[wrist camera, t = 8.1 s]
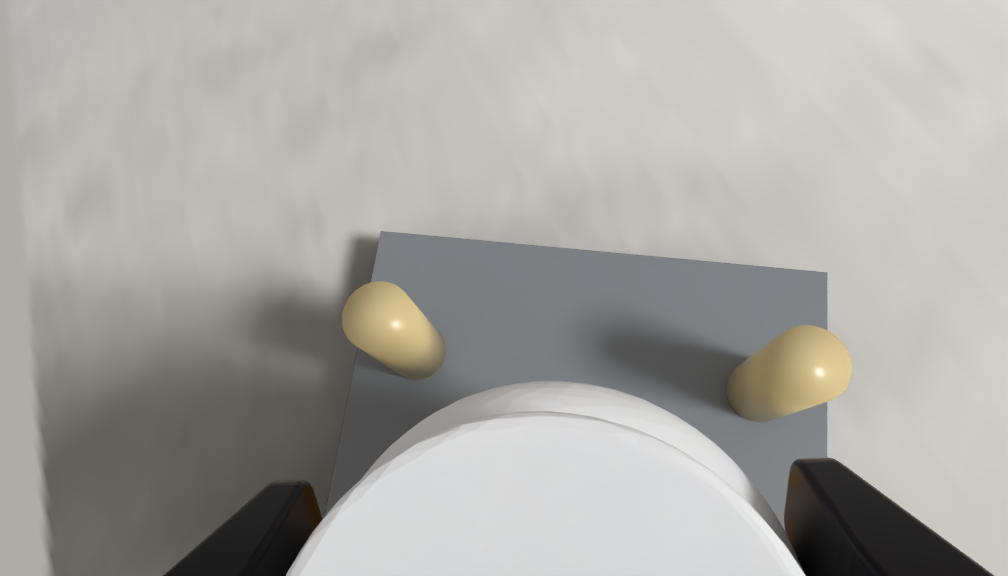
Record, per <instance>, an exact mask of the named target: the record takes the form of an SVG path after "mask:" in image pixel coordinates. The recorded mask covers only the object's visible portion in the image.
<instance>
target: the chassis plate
mask: <svg viewBox="0 0 1008 576" xmlns="http://www.w3.org/2000/svg"><path fill="white" fill-rule="evenodd" d="M342 326H343V330H344V332H345V335H346V336H347V338H348V339H349V340H350V342H352V343H353V344H354V345H355V346H357V347H358V349H357V354H356V359H355V364H354V369H353V375H352V380H351V385H350V390H349V395H348V400H347V405H346V410H345V415H344V420H343V425H342V430H341V435H340V440H339V445H338V450H337V455H336V460H335V465H334V471H333V476H332V481H331V486H330V491H329V496H328V501H327V506H326V511H325V516H326V515H327V513H328V512H329V511H330V510H331V508H332V507H333V506H334V505H335V504H336V503H337V502H338V501H339V500H340V499H341V498H342V497H343V496H344V495H345V494H346V493H347V492H348V491H349V490H350V489H351V488H352V487H353V486H354V485H355V484H356V483H357V482H358V481H360V480H361V479H362V478H363V476H364V475H365V474H366V472H367V471H368V470H369V469H370V468H371V466H372V465H373V464H374V463H375V461H376V460H377V459H378V458H379V457H380V456H381V455H382V454H383V453H384V452H385V451H386V450H387V449H388V448H389V447H390V446H391V445H392V444H393V443H394V442H396V441H397V440H398V439H399V438H400V437H401V436H403V435H404V434H405V433H406V432H408V431H409V430H410V429H412V428H413V427H414V426H415V425H417V424H418V423H419V422H421V421H422V420H424V419H425V418H427V417H428V416H430V415H432V414H433V413H435V412H437V411H439V410H441V409H443V408H445V407H446V406H448V405H450V404H452V403H454V402H456V401H458V400H460V399H462V398H465V397H467V396H470V395H473V394H477V393H480V392H483V391H486V390H489V389H493V388H496V387H501V386H506V385H511V384H517V383H526V382H535V381H564V382H574V383H585V384H591V385H596V386H601V387H605V388H610V389H615V390H618V391H621V392H624V393H627V394H630V395H632V396H635V397H638V398H641V399H643V400H646V401H648V402H650V403H652V404H654V405H656V406H658V407H660V408H662V409H664V410H666V411H668V412H670V413H672V414H674V415H676V416H677V417H679V418H680V419H682V420H683V421H685V422H686V423H688V424H690V425H691V426H693V427H694V428H696V429H697V430H698V431H700V432H701V433H702V434H703V435H705V436H706V437H707V438H709V439H710V440H711V441H712V442H714V443H715V444H716V445H717V446H718V447H719V448H720V449H721V450H723V451H724V452H725V453H726V454H727V455H728V456H729V457H730V458H731V459H732V460H733V461H734V462H735V463H736V464H737V465H738V467H739V468H740V469H741V470H742V471H743V472H744V473H745V474H746V475H747V477H748V478H749V479H750V480H751V482H752V483H753V484H754V486H755V487H756V488H757V489H758V491H759V492H760V493H761V494H762V496H763V497H764V499H765V500H766V502H767V503H768V504H769V506H770V507H771V509H772V510H773V512H774V513H775V515H776V516H777V518H778V520H779V522H780V523H781V525H782V527H783V528H784V530H785V527H784V509H785V501H786V494H787V486H788V479H789V471H790V467H791V465H792V463H793V462H794V461H795V460H797V459H803V458H827V402H828V401H830V400H833V399H835V398H836V397H838V396H839V395H840V394H841V393H842V392H843V391H844V390H845V389H846V388H847V386H848V384H849V382H850V379H851V375H852V362H851V358H850V355H849V352H848V350H847V348H846V347H845V345H844V344H843V343H842V342H841V340H840V339H839V338H838V337H836V336H835V335H834V334H832V333H831V332H829V331H827V272H816V271H805V270H794V269H784V268H773V267H762V266H751V265H740V264H730V263H719V262H708V261H697V260H686V259H676V258H665V257H654V256H643V255H633V254H622V253H611V252H600V251H589V250H579V249H568V248H557V247H546V246H535V245H525V244H514V243H503V242H492V241H481V240H471V239H460V238H449V237H438V236H427V235H417V234H406V233H395V232H384V231H381V233H380V238H379V243H378V248H377V253H376V258H375V263H374V268H373V274H372V279H371V283H368V284H365V285H363V286H361V287H360V288H358V289H357V290H355V291H354V292H353V293H352V294H351V295H350V297H349V298H348V300H347V301H346V303H345V306H344V308H343V312H342ZM325 516H324V517H325Z"/></svg>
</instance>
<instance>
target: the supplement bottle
mask: <svg viewBox="0 0 1008 576" xmlns="http://www.w3.org/2000/svg"><path fill="white" fill-rule="evenodd" d="M286 576H805V574H804V571H803V569H802V567H801V564H800V562H799V560H798V557H797V555H796V553H795V550H794V548H793V546H792V544H791V542H790V540H789V538H788V536H787V534H786V532H785V530H784V528H783V527H782V525H781V523H780V522H779V520H778V518H777V516H776V515H775V513H774V512H773V510H772V509H771V507H770V506H769V504H768V503H767V502H766V500H765V499H764V497H763V496H762V494H761V493H760V492H759V491H758V489H757V488H756V487H755V486H754V484H753V483H752V482H751V480H750V479H749V478H748V477H747V475H746V474H745V473H744V472H743V471H742V470H741V469H740V468H739V467H738V465H737V464H736V463H735V462H734V461H733V460H732V459H731V458H730V457H729V456H728V455H727V454H726V453H725V452H724V451H723V450H721V449H720V448H719V447H718V446H717V445H716V444H715V443H714V442H712V441H711V440H710V439H709V438H707V437H706V436H705V435H703V434H702V433H701V432H700V431H698V430H697V429H696V428H694V427H693V426H691V425H690V424H688V423H686V422H685V421H683V420H682V419H680V418H679V417H677V416H676V415H674V414H672V413H670V412H668V411H666V410H664V409H662V408H660V407H658V406H656V405H654V404H652V403H650V402H648V401H646V400H643V399H641V398H638V397H635V396H632V395H630V394H627V393H624V392H621V391H618V390H615V389H610V388H605V387H601V386H596V385H591V384H585V383H574V382H564V381H535V382H526V383H517V384H511V385H506V386H501V387H496V388H493V389H489V390H486V391H483V392H480V393H477V394H473V395H470V396H467V397H465V398H462V399H460V400H458V401H456V402H454V403H452V404H450V405H448V406H446V407H445V408H443V409H441V410H439V411H437V412H435V413H433V414H432V415H430V416H428V417H427V418H425V419H424V420H422V421H421V422H419V423H418V424H417V425H415V426H414V427H413V428H412V429H410V430H409V431H408V432H406V433H405V434H404V435H403V436H401V437H400V438H399V439H398V440H397V441H396V442H394V443H393V444H392V445H391V446H390V447H389V448H388V449H387V450H386V451H385V452H384V453H383V454H382V455H381V456H380V457H379V458H378V459H377V460H376V461H375V463H374V464H373V465H372V466H371V468H370V469H369V470H368V471H367V472H366V474H365V475H364V476H363V478H362V479H361V480H360V481H358V482H357V483H356V484H355V485H354V486H353V487H352V488H351V489H350V490H349V491H348V492H347V493H346V494H345V495H344V496H343V497H342V498H341V499H340V500H339V501H338V502H337V503H336V504H335V505H334V506H333V507H332V508H331V510H330V511H329V512H328V513H327V515H326V516H325V517H324V518H323V520H322V521H321V522H320V523H319V525H318V526H317V527H316V528H315V530H314V531H313V532H312V534H311V535H310V537H309V539H308V540H307V542H306V543H305V545H304V546H303V548H302V549H301V551H300V552H299V554H298V556H297V557H296V559H295V561H294V562H293V564H292V566H291V567H290V569H289V571H288V572H287V574H286Z"/></svg>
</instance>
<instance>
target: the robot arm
mask: <svg viewBox="0 0 1008 576" xmlns="http://www.w3.org/2000/svg"><path fill="white" fill-rule="evenodd" d="M321 521H322V517H321V513H320V510H319V507H318V503H317V500H316V497H315V494H314V490H313V488H312V486H311V485H310V483H309V482H307V481H305V480H287V481H275V482H272V483H270V484H269V485H268V486H266V487H265V488H264V489H263V490H262V491H260V492H259V493H258V494H257V495H256V496H255V497H253V498H252V499H251V500H250V501H249V502H248V503H247V504H245V505H244V506H243V507H242V508H241V509H240V510H238V511H237V512H236V513H235V514H234V515H233V516H232V517H230V518H229V519H228V520H227V521H226V522H225V523H223V524H222V525H221V526H220V527H219V528H218V529H217V530H215V531H214V532H213V533H212V534H211V535H210V536H208V537H207V538H206V539H205V540H204V541H203V542H202V543H200V544H199V545H198V546H197V547H196V548H195V549H193V550H192V551H191V552H190V553H189V554H188V555H186V556H185V557H184V558H183V559H182V560H181V561H180V562H178V563H177V564H176V565H175V566H174V567H173V568H171V569H170V570H169V571H168V572H167V573H166V574H165V575H163V576H286V574H287V572H288V571H289V569H290V567H291V566H292V564H293V562H294V561H295V559H296V557H297V556H298V554H299V552H300V551H301V549H302V548H303V546H304V545H305V543H306V542H307V540H308V539H309V537H310V535H311V534H312V532H313V531H314V530H315V528H316V527H317V526H318V525H319V523H320V522H321ZM784 527H785V532H786V534H787V536H788V538H789V540H790V542H791V544H792V546H793V548H794V550H795V553H796V555H797V557H798V560H799V562H800V564H801V567H802V569H803V571H804V574H805V576H994V575H993V574H991V573H990V572H989V571H987V570H986V569H985V568H983V567H982V566H981V565H979V564H978V563H976V562H975V561H974V560H972V559H971V558H970V557H968V556H967V555H966V554H964V553H963V552H961V551H960V550H959V549H957V548H956V547H955V546H953V545H952V544H951V543H949V542H948V541H947V540H945V539H944V538H942V537H941V536H940V535H938V534H937V533H936V532H934V531H933V530H932V529H930V528H929V527H927V526H926V525H925V524H923V523H922V522H921V521H919V520H918V519H917V518H915V517H914V516H912V515H911V514H910V513H908V512H907V511H906V510H904V509H903V508H902V507H900V506H899V505H898V504H896V503H895V502H893V501H892V500H891V499H889V498H888V497H887V496H885V495H884V494H883V493H881V492H880V491H878V490H877V489H876V488H874V487H873V486H872V485H870V484H869V483H868V482H866V481H865V480H863V479H862V478H861V477H859V476H858V475H857V474H855V473H854V472H853V471H851V470H850V469H849V468H847V467H846V466H844V465H843V464H842V463H840V462H839V461H837V460H835V459H833V458H803V459H797V460H795V461H794V462H793V463H792V465H791V467H790V471H789V479H788V486H787V494H786V501H785V509H784Z"/></svg>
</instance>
